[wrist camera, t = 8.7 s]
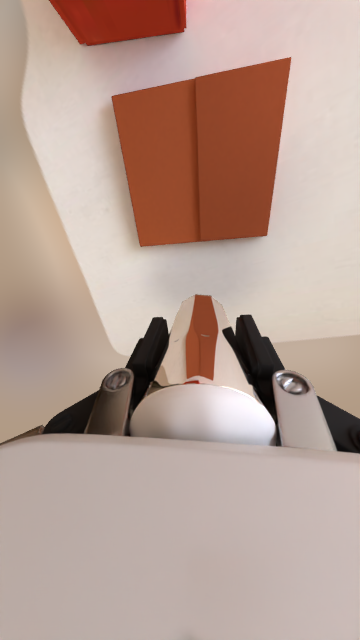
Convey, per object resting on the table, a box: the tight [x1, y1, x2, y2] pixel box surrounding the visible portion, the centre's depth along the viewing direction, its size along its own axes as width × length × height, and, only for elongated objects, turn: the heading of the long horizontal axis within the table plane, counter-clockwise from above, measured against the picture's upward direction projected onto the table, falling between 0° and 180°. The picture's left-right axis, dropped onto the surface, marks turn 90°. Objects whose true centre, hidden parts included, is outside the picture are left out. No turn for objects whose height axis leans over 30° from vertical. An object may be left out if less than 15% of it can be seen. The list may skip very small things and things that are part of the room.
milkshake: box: [129, 294, 277, 446], centre depth 9 cm, size 4×5×10 cm
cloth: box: [112, 57, 291, 247], centre depth 16 cm, size 11×13×1 cm
